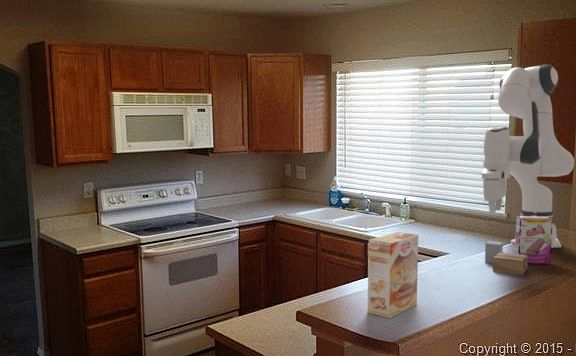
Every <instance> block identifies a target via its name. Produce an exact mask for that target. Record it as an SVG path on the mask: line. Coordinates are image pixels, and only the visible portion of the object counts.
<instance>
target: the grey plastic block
mask: <svg viewBox="0 0 576 356" xmlns="http://www.w3.org/2000/svg"><path fill="white" fill-rule="evenodd" d="M484 246H485V248H484V249H485V251H484V252H485V253H484V263H486V264H492V265H493V257H494V256H496V255H497V254H498V253H500V252H503V253H504V242H503V241H495V240H494V241H493V240H488V241H487V242H485V245H484Z"/></svg>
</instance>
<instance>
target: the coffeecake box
mask: <svg viewBox="0 0 576 356" xmlns="http://www.w3.org/2000/svg"><path fill="white" fill-rule="evenodd" d="M367 255H368V259H367V261H368V263H367V264H368V265H367V269H368V270H367V314H371V315H375V316H379V317H381V318H382V317H383V318H387V319H392V318H393V317H395V316H397V315H399V314H402V312H405V311H407V310H408V309H411V308H413V307H415V306H416V305H418V268H419V265H418V263H419V261H418V260H419V234H415V233H409V232H408V233H407V232H401V231H395V232H393V233H389V234H385V235H382V236H378V237H374V238H370V239H368V254H367Z"/></svg>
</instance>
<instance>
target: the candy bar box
mask: <svg viewBox="0 0 576 356" xmlns="http://www.w3.org/2000/svg"><path fill="white" fill-rule="evenodd" d="M553 220H554V218H553V219H552V218H550V217H540V216H521V215H517V216H516V220H515V222H516V223H515V237H516V239H515V238H514V239H515V243H514V254H519V255H528V264H527V265H529V264H531V265H535V264H536V265H550V264H551V254H552V253H551V252H552V248H551V239H552V223H553ZM553 224H554V223H553Z"/></svg>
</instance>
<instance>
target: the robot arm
mask: <svg viewBox="0 0 576 356" xmlns="http://www.w3.org/2000/svg"><path fill="white" fill-rule="evenodd" d="M558 82H559V74H558V71H557V69H556V68H555V66H553V65H552V64H540V65H536V66H535V65H534V66H529V67H525V68H523V67H513V68H511V69H509V70H508V71H507V72H506V73H505V74H504V75H502V77H501V79H500V80H499V92H498V101H497V102H498V106H499V108H500V109H501V111H503V112H504V113H505V114H507V115H509V116H510V117H511V116H512V117H515V118H518V119H520V120H521V119H522V131H523V132H522V133H523V135H518V136H517V135H515V136H513V135H512V136H511V135H510V134H511V133H510V128H509V127H507V126H500V125H499V126H497V125H496V126H491V127H489V128H487V129H486V131H485V136H484V140H483V141H484V143H483V155H484V161H483V166H482V167H483V169H482V173H481V179H482V180H483V181H482V182H483V183H482V184H483V198H484V201H485V202H488V203H487V204H488V208H489V209H488V210H489V214H496V212H497V211H501V210H502V203H503V198H505V197H506V196H507V179H510V177H511V176H512V177H513V178H514V179H515V180H516V181H517V182H518V185H519V187H520V190H521V200H522V201H521V207H522V208H521V210H520V215H519V216H540V217H550V218H552V219H553V220H554V211H553V192H552V191H551V189H550V188H548V187H547V186H546V185H543V184H541V183H539V182H538V177H555V178H556V177H563V176H567V175H569V174H570V173H571V172H572V171H573V169H574V166H575V158H574V156H573V154H572V153H571V152H569V150H567V149H566V148H564V146H562V145H561V144H560V142H559V141H558V140H557V137H556V134H555V132H554V130H555V129H554V119H553V106H552V105H553V104H552V101H551V97H550V96H551V95H552V94H553V91H554V90H555V89H556V87H557V85H558ZM510 175H511V176H510ZM515 239H516V236H515V238H513V239H511V240H510V243H511V244H515ZM552 248H553V249H554V248H562V244H561V243H560V240H559V239H558V234H557V226H556V224H554V223H552V239H551V249H552Z"/></svg>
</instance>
